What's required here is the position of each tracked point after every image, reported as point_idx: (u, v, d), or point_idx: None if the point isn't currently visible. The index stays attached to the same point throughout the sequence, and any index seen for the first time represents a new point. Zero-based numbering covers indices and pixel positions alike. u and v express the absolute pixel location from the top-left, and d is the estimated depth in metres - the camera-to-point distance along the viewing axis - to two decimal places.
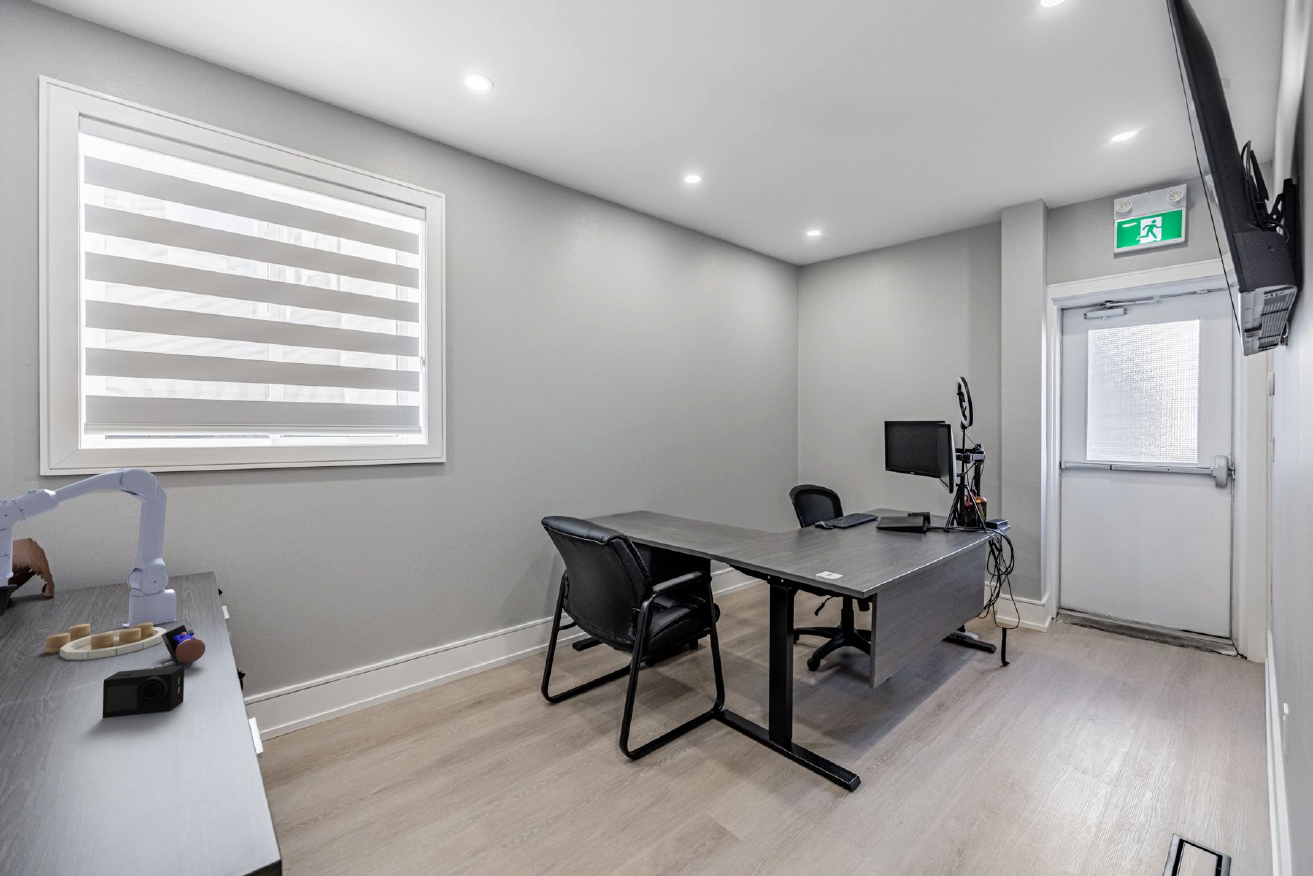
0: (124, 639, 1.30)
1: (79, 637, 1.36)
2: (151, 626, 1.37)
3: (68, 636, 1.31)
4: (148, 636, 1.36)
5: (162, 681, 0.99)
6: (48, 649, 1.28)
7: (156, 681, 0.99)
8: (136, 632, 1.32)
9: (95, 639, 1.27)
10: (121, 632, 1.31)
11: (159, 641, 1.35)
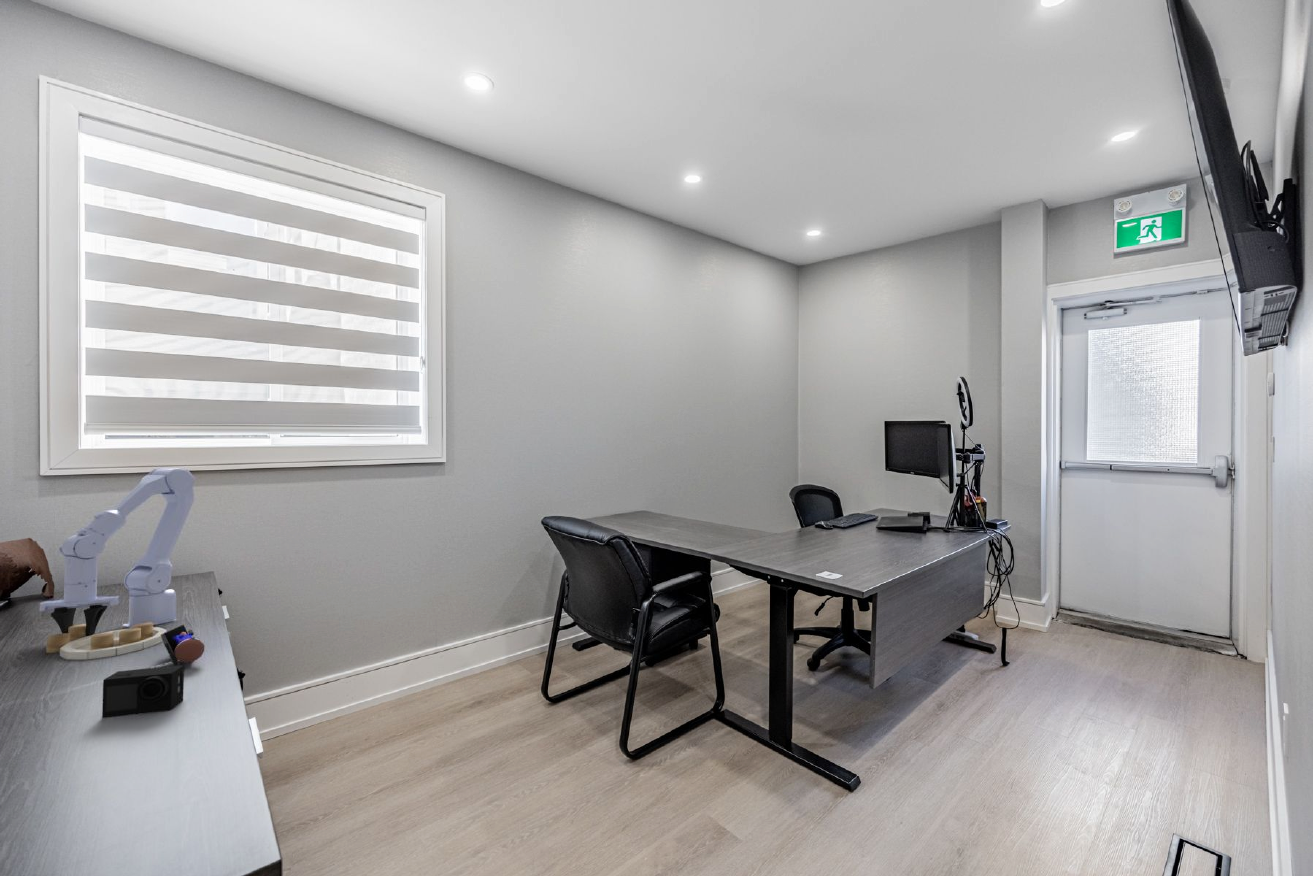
0: (124, 639, 1.30)
1: (79, 637, 1.36)
2: (151, 626, 1.37)
3: (68, 636, 1.31)
4: (148, 636, 1.36)
5: (162, 680, 0.99)
6: (48, 649, 1.28)
7: (156, 680, 0.99)
8: (136, 632, 1.32)
9: (95, 639, 1.27)
10: (121, 632, 1.31)
11: (159, 641, 1.35)
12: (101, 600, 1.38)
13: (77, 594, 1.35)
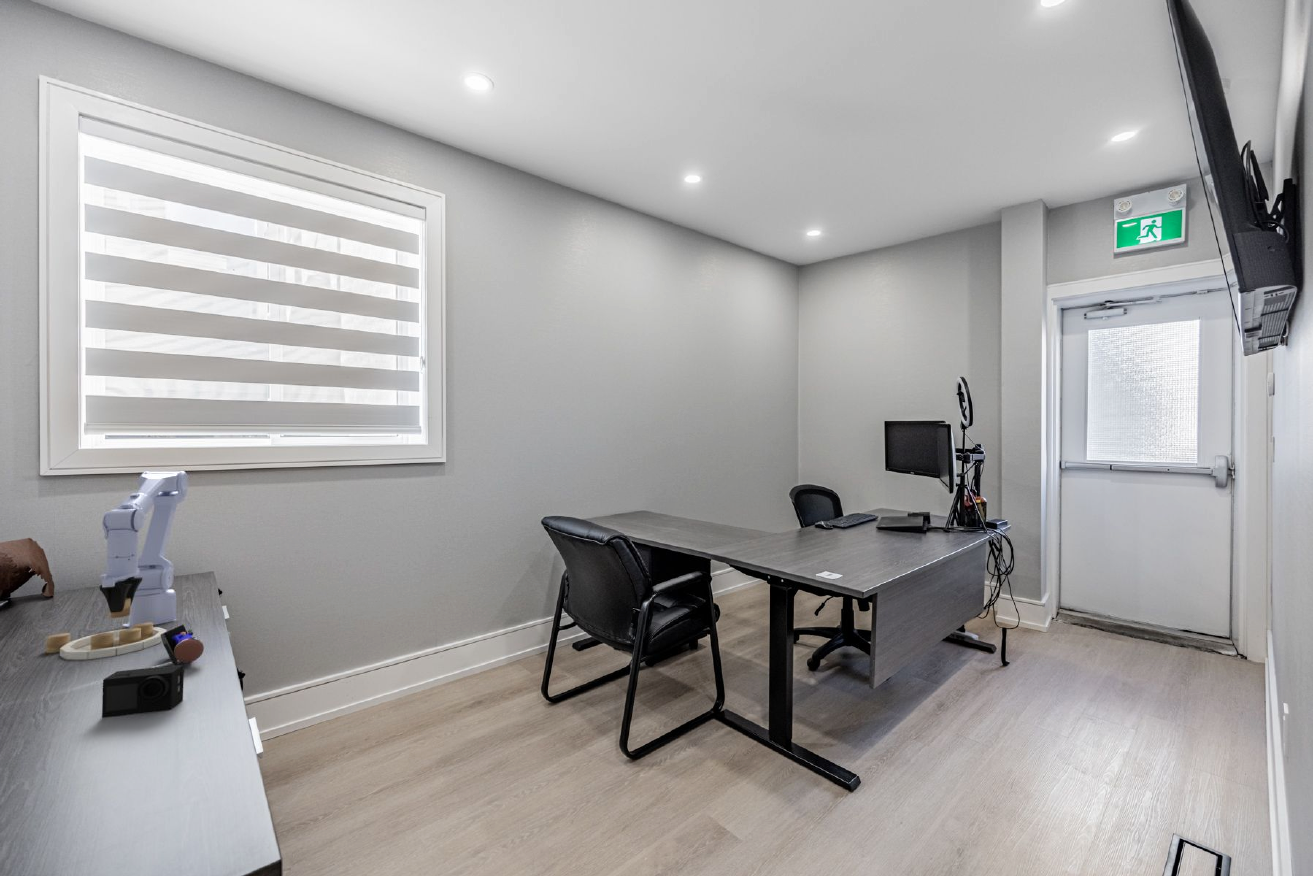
0: (124, 639, 1.30)
1: (109, 611, 1.36)
2: (151, 626, 1.37)
3: (68, 636, 1.31)
4: (148, 636, 1.36)
5: (163, 680, 1.00)
6: (48, 649, 1.28)
7: (156, 680, 0.99)
8: (136, 632, 1.32)
9: (95, 639, 1.27)
10: (121, 632, 1.31)
11: (159, 641, 1.35)
12: None
13: None
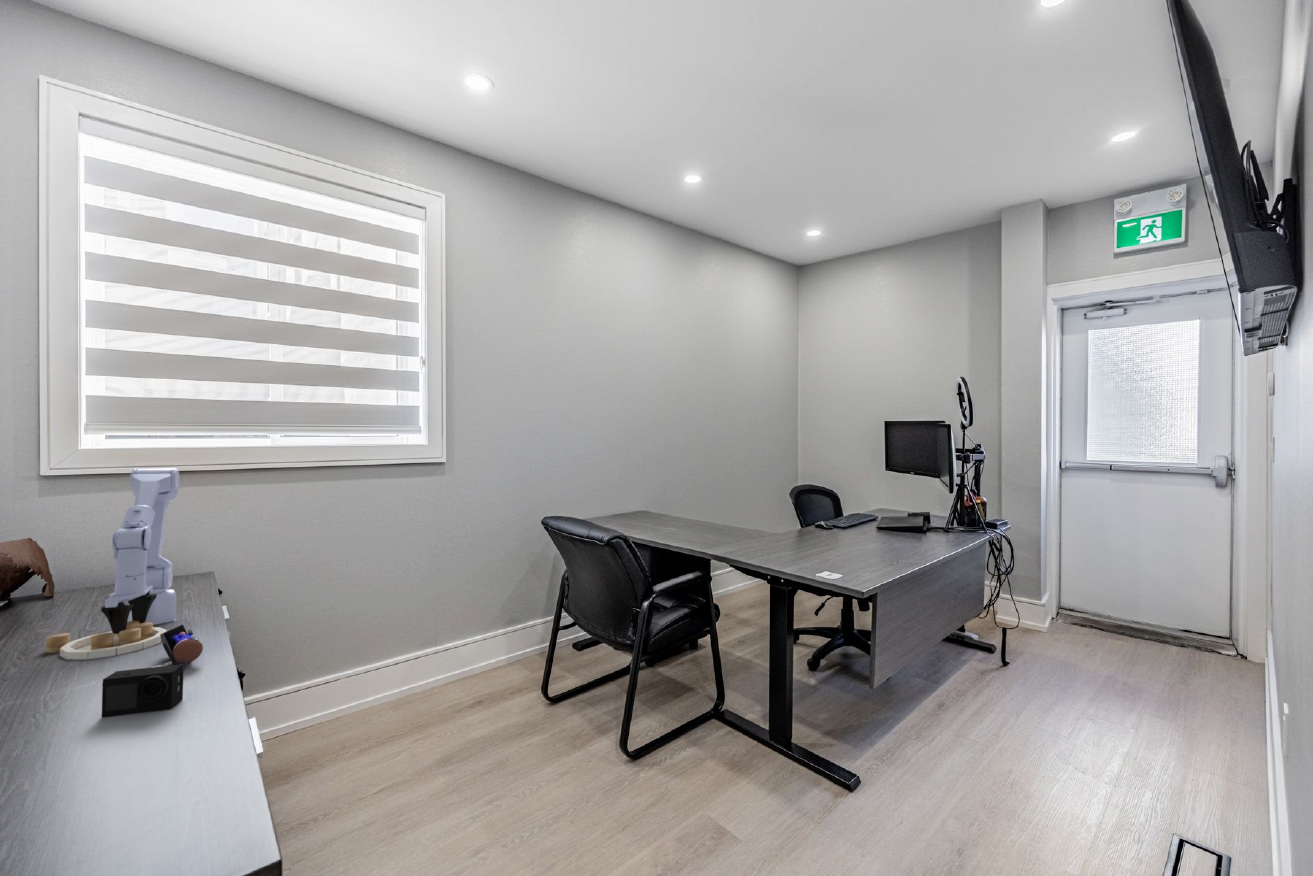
0: (124, 639, 1.30)
1: (118, 634, 1.36)
2: (151, 626, 1.37)
3: (68, 636, 1.31)
4: (148, 636, 1.36)
5: (163, 679, 1.00)
6: (48, 649, 1.28)
7: (157, 679, 1.00)
8: (136, 632, 1.32)
9: (95, 639, 1.27)
10: (121, 632, 1.31)
11: (159, 641, 1.35)
12: None
13: None
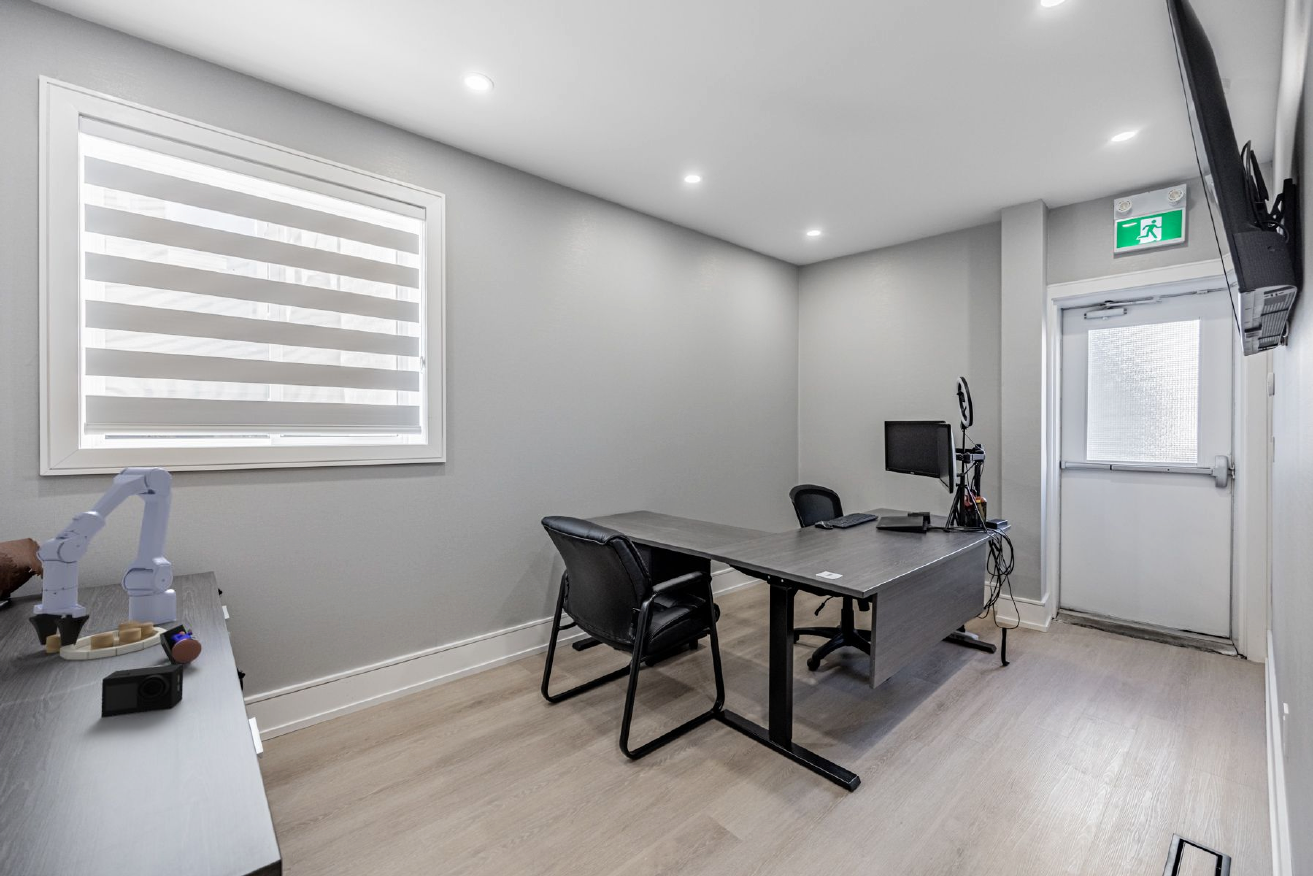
0: (124, 639, 1.30)
1: (118, 634, 1.36)
2: (151, 626, 1.37)
3: None
4: (148, 636, 1.36)
5: (163, 679, 1.00)
6: (48, 649, 1.28)
7: (157, 679, 1.00)
8: (136, 632, 1.32)
9: (95, 639, 1.27)
10: (121, 632, 1.31)
11: (159, 641, 1.35)
12: (65, 610, 1.28)
13: (47, 601, 1.28)
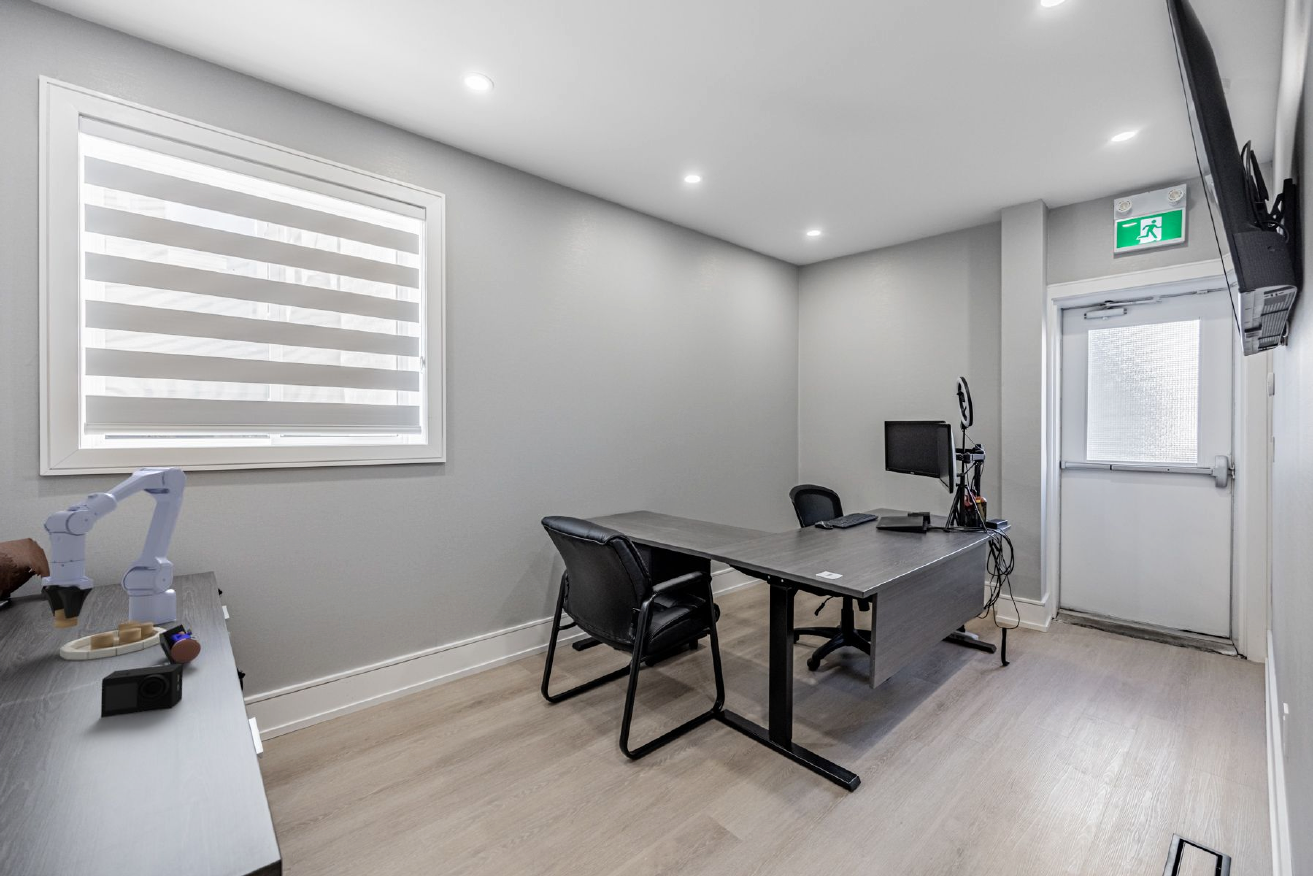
0: (124, 639, 1.30)
1: (118, 634, 1.36)
2: (151, 626, 1.37)
3: None
4: (148, 636, 1.36)
5: (163, 679, 1.00)
6: (56, 622, 1.29)
7: (157, 678, 1.00)
8: (136, 632, 1.32)
9: (95, 639, 1.27)
10: (121, 632, 1.31)
11: (159, 641, 1.35)
12: (73, 582, 1.29)
13: (54, 573, 1.29)
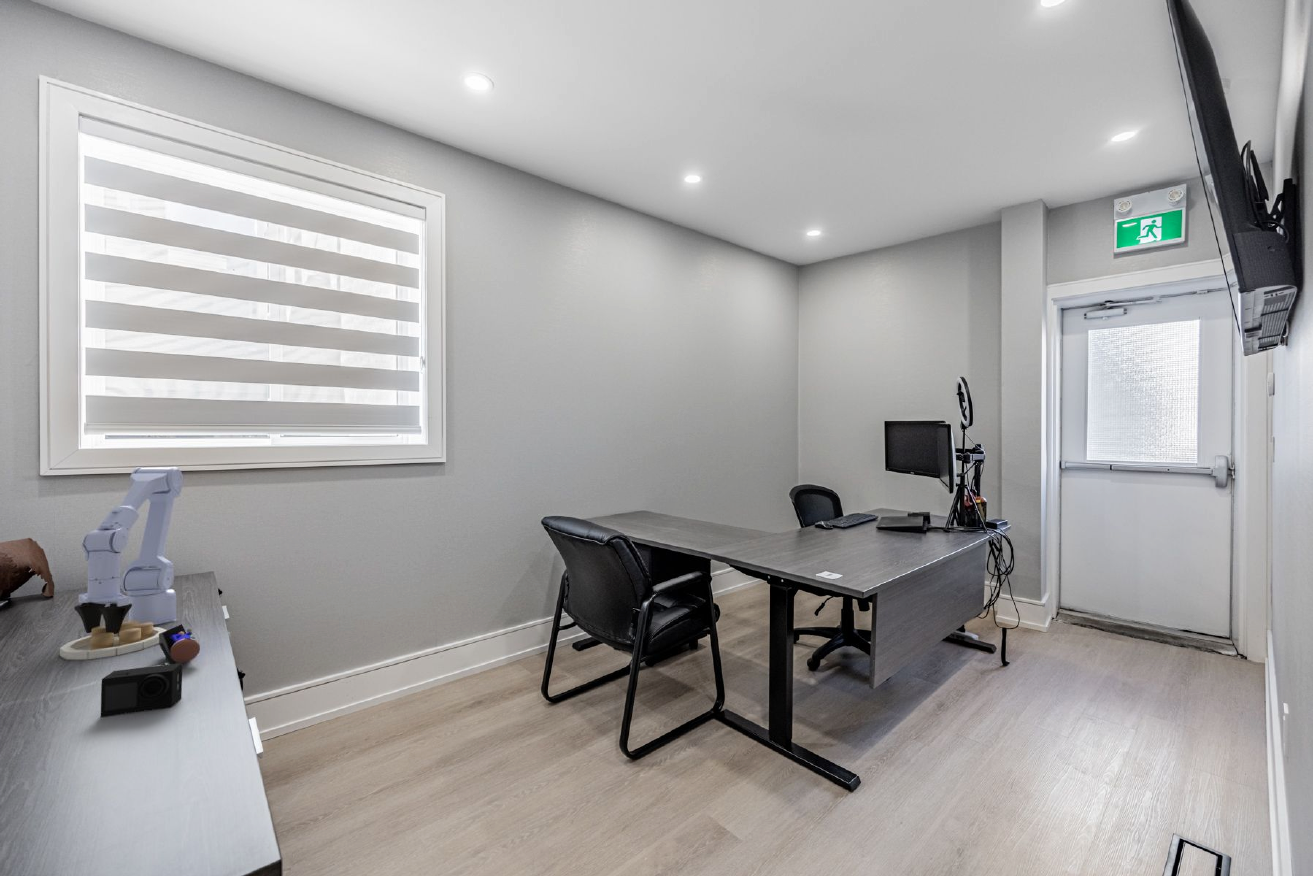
0: (124, 639, 1.30)
1: (118, 634, 1.36)
2: (151, 626, 1.37)
3: None
4: (148, 636, 1.36)
5: (164, 678, 1.01)
6: None
7: (157, 678, 1.00)
8: (136, 632, 1.32)
9: (95, 639, 1.27)
10: (121, 632, 1.31)
11: None
12: (110, 599, 1.32)
13: (92, 590, 1.32)
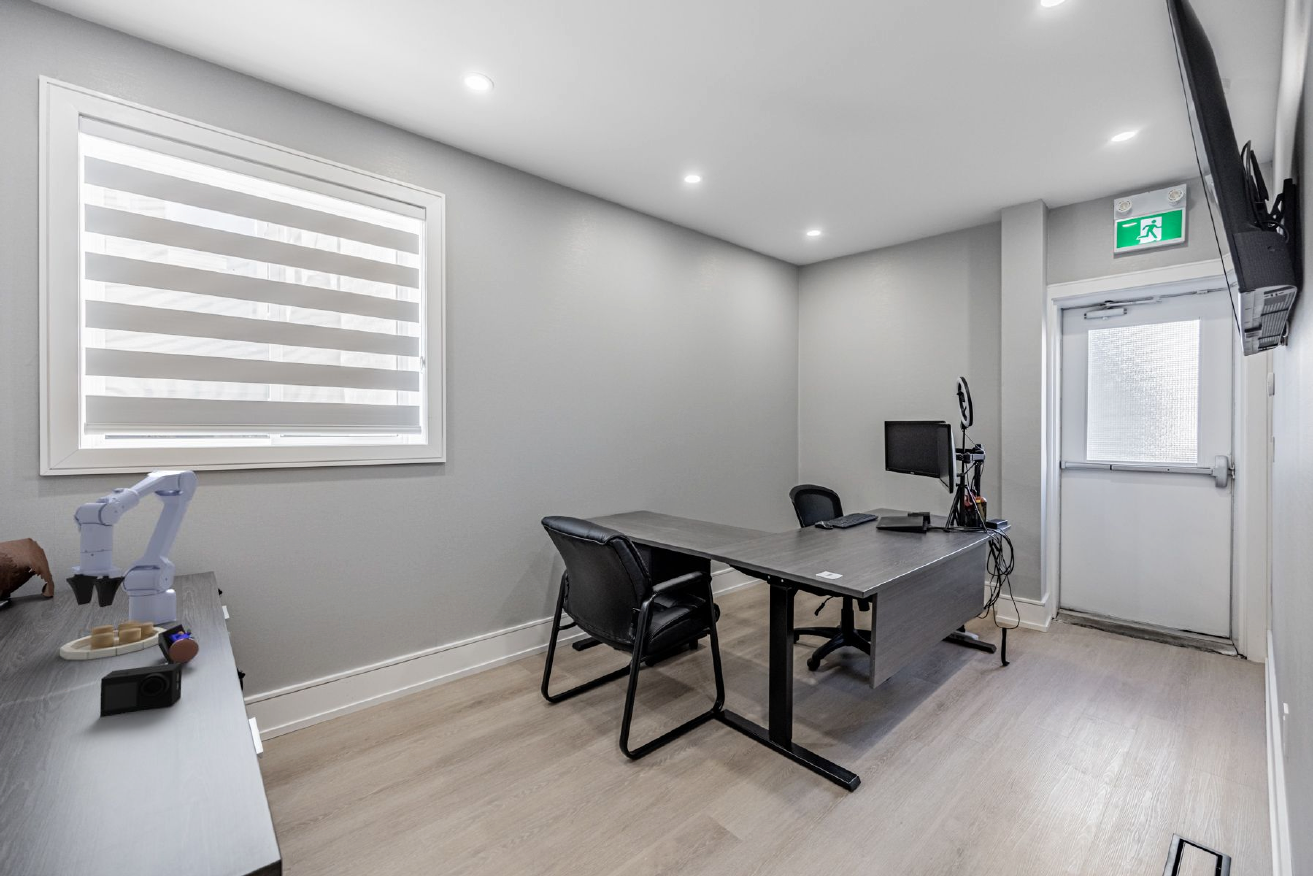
0: (124, 639, 1.30)
1: (118, 634, 1.36)
2: (151, 626, 1.37)
3: (112, 628, 1.35)
4: (148, 636, 1.36)
5: (164, 677, 1.01)
6: None
7: (157, 677, 1.01)
8: (136, 632, 1.32)
9: (95, 639, 1.27)
10: (121, 632, 1.31)
11: None
12: (102, 571, 1.33)
13: (84, 562, 1.33)
